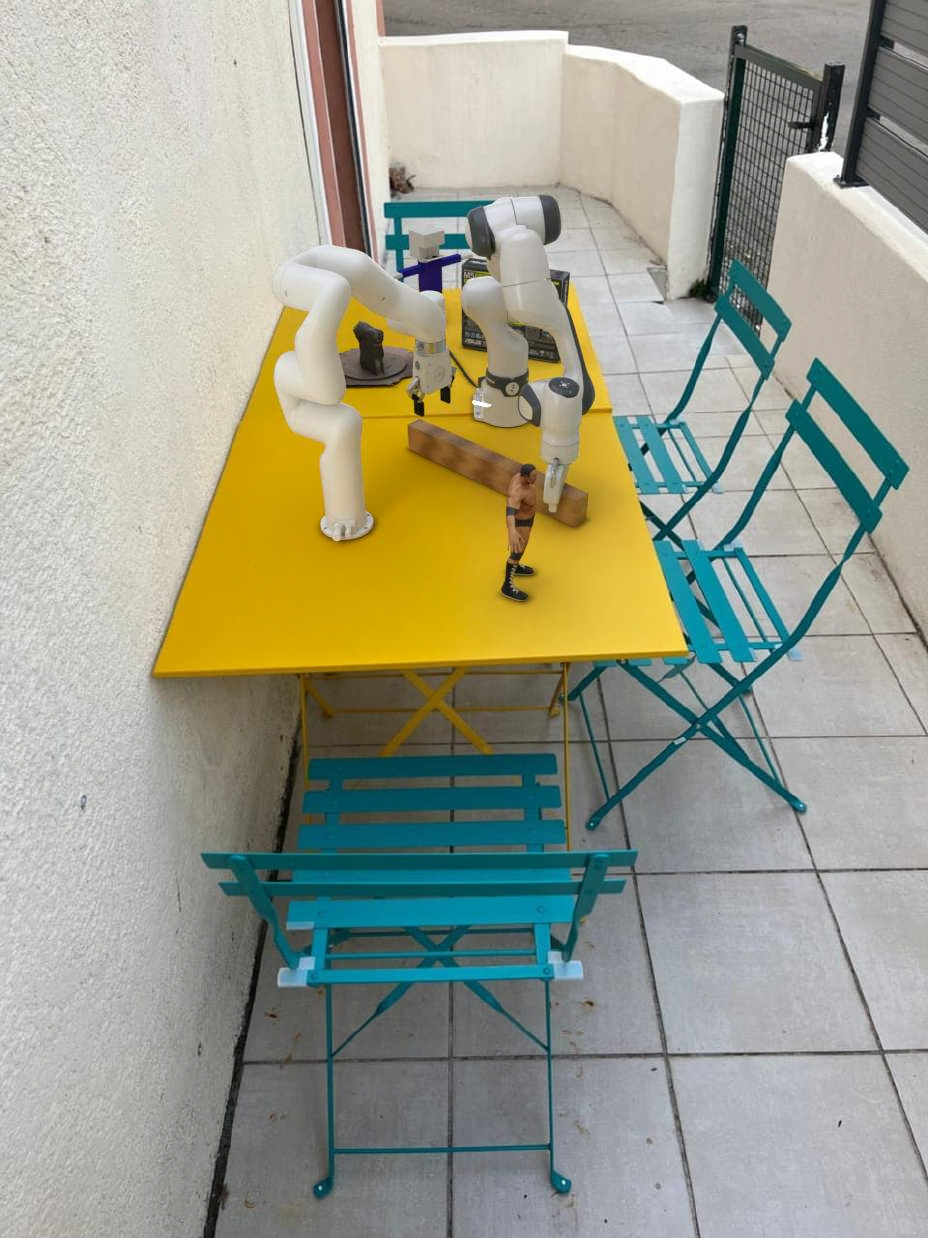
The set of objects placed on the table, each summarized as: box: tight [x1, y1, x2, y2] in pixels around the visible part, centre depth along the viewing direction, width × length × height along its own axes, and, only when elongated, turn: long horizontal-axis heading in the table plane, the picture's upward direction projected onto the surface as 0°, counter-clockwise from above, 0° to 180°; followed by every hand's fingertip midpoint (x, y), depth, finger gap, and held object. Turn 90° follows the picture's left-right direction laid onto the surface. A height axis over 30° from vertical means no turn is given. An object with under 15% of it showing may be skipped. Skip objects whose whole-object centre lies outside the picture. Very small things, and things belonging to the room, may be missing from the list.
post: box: [407, 418, 589, 528], centre depth 224 cm, size 56×5×8 cm, turn 48°
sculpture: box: [339, 320, 414, 387], centre depth 273 cm, size 33×35×16 cm
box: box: [460, 257, 571, 363], centre depth 279 cm, size 34×7×27 cm, turn 68°
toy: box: [388, 223, 474, 295], centre depth 298 cm, size 35×10×30 cm, turn 130°
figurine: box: [500, 463, 538, 602], centre depth 184 cm, size 24×6×30 cm, turn 168°
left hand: (432, 408), depth 228 cm, fingers open, 9 cm apart
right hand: (555, 500), depth 213 cm, fingers open, 8 cm apart
